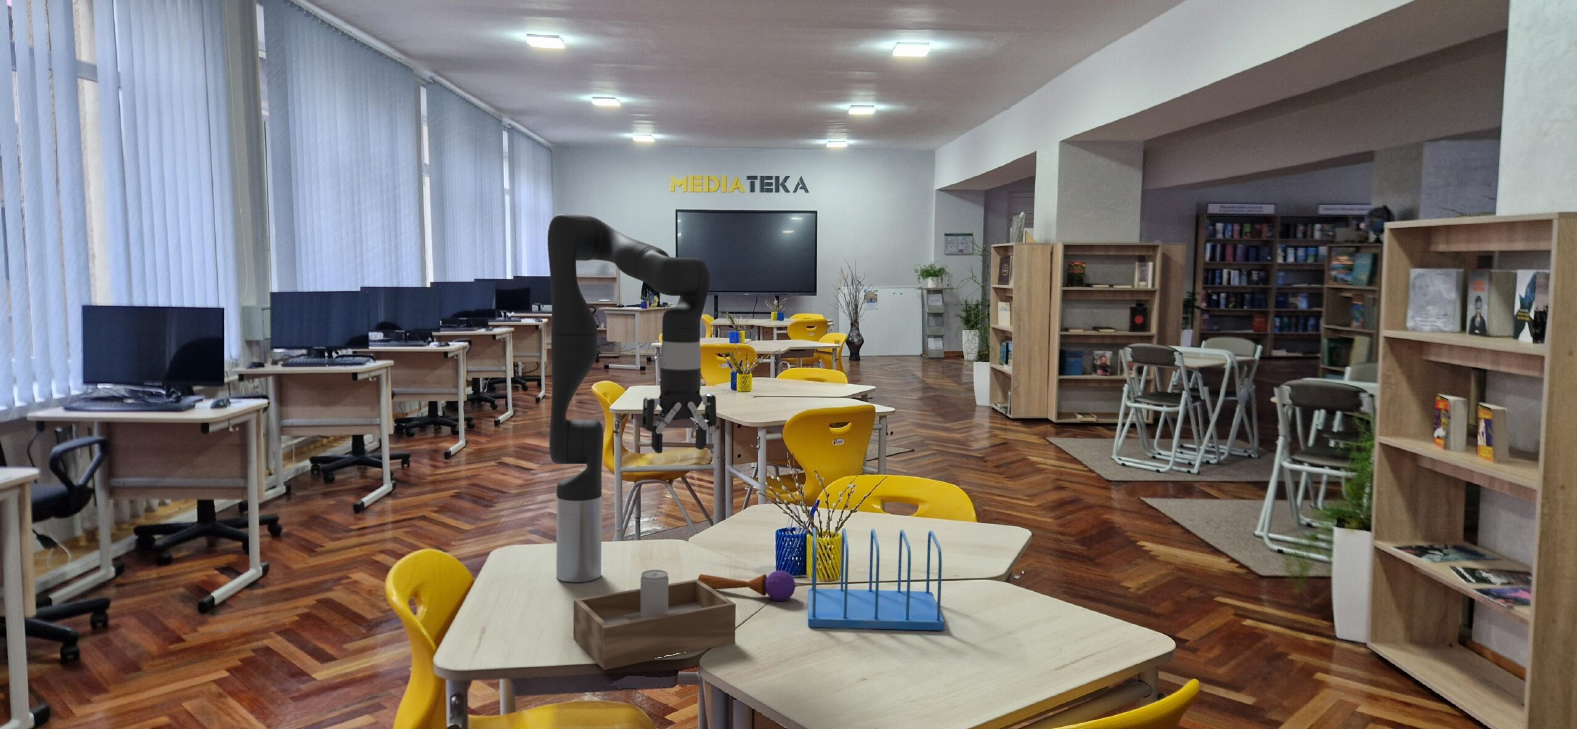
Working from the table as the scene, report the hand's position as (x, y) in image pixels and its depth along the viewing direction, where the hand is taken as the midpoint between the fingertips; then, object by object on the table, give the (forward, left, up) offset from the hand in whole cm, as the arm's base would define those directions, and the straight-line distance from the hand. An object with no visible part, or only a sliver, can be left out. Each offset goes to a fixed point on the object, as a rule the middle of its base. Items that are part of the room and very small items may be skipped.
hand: (679, 450), depth 176 cm
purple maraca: (-1, +16, -31) cm, 35 cm away
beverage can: (+12, -10, -31) cm, 35 cm away
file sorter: (+19, +33, -31) cm, 49 cm away
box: (+12, -10, -31) cm, 35 cm away
